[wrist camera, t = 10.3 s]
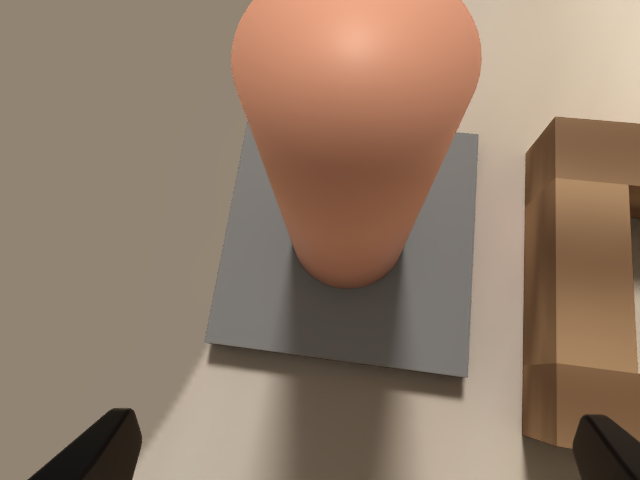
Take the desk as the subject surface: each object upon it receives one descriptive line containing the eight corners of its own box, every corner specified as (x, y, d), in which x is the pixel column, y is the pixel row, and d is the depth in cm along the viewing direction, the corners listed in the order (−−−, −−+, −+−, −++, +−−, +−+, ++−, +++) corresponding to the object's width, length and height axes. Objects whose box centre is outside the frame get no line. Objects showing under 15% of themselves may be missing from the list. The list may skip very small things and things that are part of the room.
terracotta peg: (419, 271, 18) (521, 124, 8) (308, 302, 18) (262, 193, 8) (384, 170, 20) (432, -71, 9) (280, 198, 20) (209, -14, 9)
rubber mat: (462, 377, 18) (467, 377, 17) (210, 343, 19) (204, 342, 18) (473, 143, 21) (478, 134, 20) (252, 123, 22) (248, 114, 21)
